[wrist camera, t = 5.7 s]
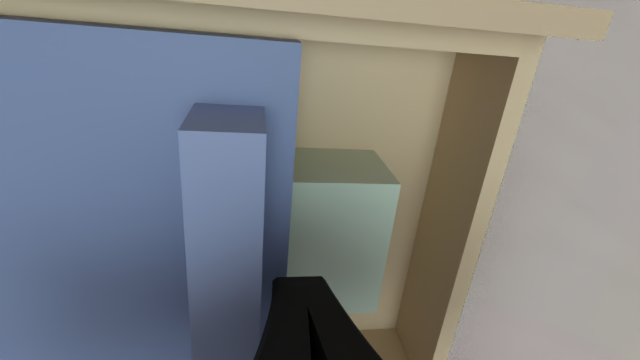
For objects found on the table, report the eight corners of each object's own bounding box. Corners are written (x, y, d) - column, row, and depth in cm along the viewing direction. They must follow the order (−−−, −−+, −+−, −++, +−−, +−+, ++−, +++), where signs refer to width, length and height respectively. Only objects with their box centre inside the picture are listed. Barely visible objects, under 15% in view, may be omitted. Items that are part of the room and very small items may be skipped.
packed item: (356, 261, 16) (376, 312, 14) (261, 262, 16) (262, 317, 13) (373, 150, 14) (401, 184, 12) (264, 146, 14) (267, 182, 11)
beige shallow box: (398, 336, 19) (450, 458, 14) (-60, 361, 16) (-212, 534, 11) (474, 7, 13) (614, 11, 8) (-244, -68, 10) (-805, -147, 5)
